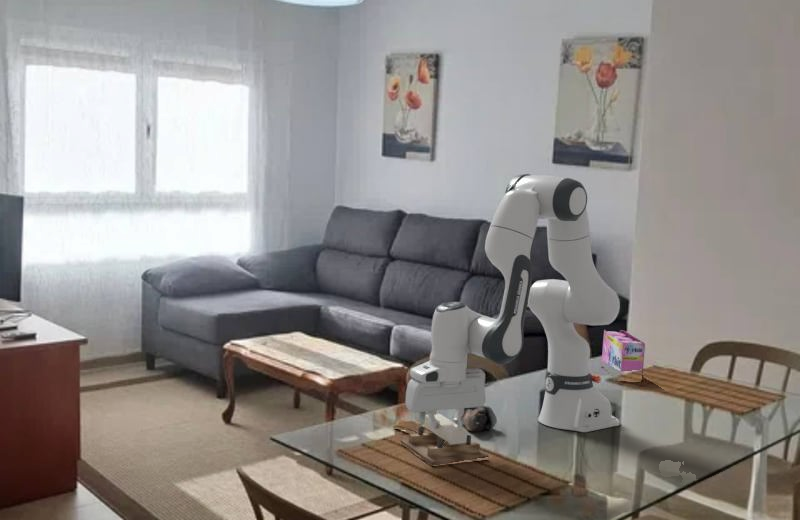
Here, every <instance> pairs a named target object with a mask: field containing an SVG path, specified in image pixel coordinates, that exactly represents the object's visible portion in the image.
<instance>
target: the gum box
mask: <svg viewBox="0 0 800 520" xmlns="http://www.w3.org/2000/svg"><path fill="white" fill-rule="evenodd" d="M602 340H603V341H602V354H601V362H602V361H603V362H605V363H607V364H609V365H610V366H612V367H614V368H615V369H617V370H619V371H632V370H640V369H643V370H644V365H645V364H644V362H645V351H646V343H645V342H644V341H642V340H641V339H639V338H637V337H636V336H634V335H632V334H631V333H630V332H628V331H625V330H622V329H620V330H619V331H618V332H617V331H607V329H604V330H603V339H602Z"/></svg>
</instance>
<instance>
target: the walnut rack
mask: <svg viewBox="0 0 800 520" xmlns="http://www.w3.org/2000/svg"><path fill="white" fill-rule="evenodd" d="M471 440H472V436H471V435H470V434H469V435H468V434H467V440H466V443H459V444H450V443H448V442H447V441H446V442H445V440H444V439H442V438H441V437H439V436H438V435H436V434H435V433H433V432H432V431H430V432H424V426H423V425H422V426H419V427H418V434H408V438H405V439H404V438H403V439H402V438H401V439H400V440H399V441H400V442H401V443H402V444H404V445H406V446H407V447H409V448H410V449H411V450H413V451H414V452H415V453H416V454H417V455H419V456H420V457H421V458H422V459H424V460H425V461H426V462H427V463H429V464H430V465H431V466H433V465H440V464H447V463H453V462H459V461H464V460H471V459H477V458H485V457H489V455H488V454H487V453H485V452H484V451H482V450H481V449H480V447H481V445H480V443H479V442H477V441H473V442H472V441H471ZM444 442H445V443H444ZM427 463H426V464H427ZM430 465H429V466H430ZM431 466H430V467H431Z"/></svg>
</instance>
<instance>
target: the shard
mask: <svg viewBox="0 0 800 520" xmlns="http://www.w3.org/2000/svg"><path fill="white" fill-rule="evenodd" d="M418 423H419V424H418ZM419 426H423V423H422V422H418V421H416V420H415V421H414V420H404V419H403V420H402V419H401V420H400V419H398V420H397V421H396V423H395V424H394V425H392V429H393V428H394V429H400V430H406V431H411V432H413V431H414V432H415V433H417V432H416V431H418V427H419ZM394 429H393V430H394Z"/></svg>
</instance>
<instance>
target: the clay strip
mask: <svg viewBox="0 0 800 520" xmlns="http://www.w3.org/2000/svg"><path fill="white" fill-rule="evenodd" d="M434 417H435V419H436V420H438V421H440V424H439V428H435V429H433V428H431V420H430V418H429V416H428V414H425V416H424V427H425V428H426V429H427V430H428V431H430V432H433V433H435V434H436V435H438V436H439V437H441V438H442V439H444V440H445V441H447V442H448V443H450V444H459V443H466V440H467V435H468V429H467V428H464V427H462V426H461V425H460V424H459V425H457V424H456V423H454V422H452V421H451V419H449V418H447V417H446V416H444V415H442V414H441V413H436V415H434Z"/></svg>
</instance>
